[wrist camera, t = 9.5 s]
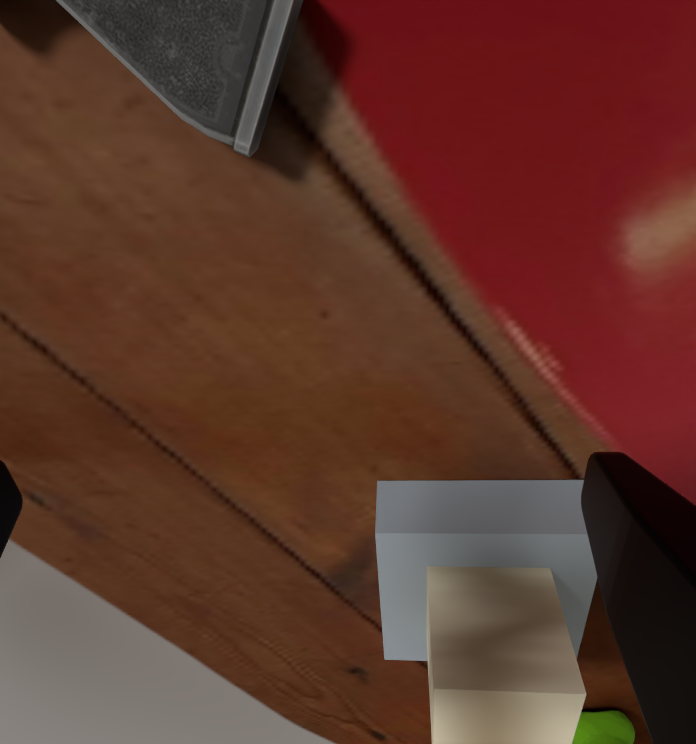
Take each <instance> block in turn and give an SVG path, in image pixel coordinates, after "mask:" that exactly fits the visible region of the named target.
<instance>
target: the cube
mask: <svg viewBox="0 0 696 744" xmlns="http://www.w3.org/2000/svg"><path fill="white" fill-rule="evenodd" d="M427 653H428V673H429V693H430V713H431V733H432V744H572V741H573V738H574V735H575V731H576V728H577V724H578V721H579V718H580V714H581V711H582V707H583V704H584V701H585V697H586V691H585V688H584V684H583V681H582V677H581V674H580V670H579V667H578V663H577V660H576V656H575V653H574V649H573V646H572V642H571V639H570V635H569V632H568V628H567V625H566V621H565V618H564V614H563V611H562V607H561V604H560V600H559V597H558V593H557V590H556V586H555V583H554V579H553V576H552V572H551V569H550V568H513V567H439V566H427Z"/></svg>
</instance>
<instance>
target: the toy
mask: <svg viewBox="0 0 696 744" xmlns="http://www.w3.org/2000/svg"><path fill="white" fill-rule="evenodd" d="M634 739H635V731H634V728H633V725H632V723H631V722H630V720H629V719H628V718H627V717H626V716H625V715H624V714H623V713H621V712H620V711H611V710H610V711H601V712H581V714H580V718H579V721H578V724H577V728H576V731H575V735H574V738H573V741H572V743H573V744H633V743H634Z"/></svg>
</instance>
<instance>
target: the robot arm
mask: <svg viewBox="0 0 696 744" xmlns="http://www.w3.org/2000/svg"><path fill="white" fill-rule="evenodd" d="M581 508H582V513H583V518H584V522H585V526H586V530H587V535H588V539H589V543H590V547H591V552H592V556H593V560H594V564H595V569H596V573H597V577H598V582H599V586H600V590H601V594H602V598H603V602H604V606H605V610H606V613H607V616H608V619H609V622H610V625H611V628H612V631H613V634H614V637H615V639H616V642H617V645H618V648H619V651H620V653H621V656H622V659H623V662H624V664H625V667H626V670H627V673H628V676H629V678H630V681H631V684H632V687H633V690H634V692H635V695H636V698H637V701H638V703H639V706H640V709H641V712H642V715H643V717H644V720H645V723H646V726H647V728H648V731H649V734H650V737H651V740H652V742H653V744H696V505H694V504H693V503H691V502H690V501H689V500H687V499H686V498H685V497H683V496H682V495H681V494H679V493H678V492H676V491H675V490H674V489H672V488H671V487H670V486H668V485H667V484H666V483H664V482H663V481H661V480H660V479H659V478H657V477H656V476H655V475H653V474H652V473H651V472H649V471H648V470H646V469H645V468H644V467H642V466H641V465H640V464H638V463H637V462H635V461H634V460H633V459H631V458H630V457H629V456H627V455H626V454H624V453H621V452H595V453H593V454H591V455H590V457H589V459H588V463H587V468H586V473H585V478H584V483H583V487H582V492H581ZM21 509H22V495H21V493H20V491H19V489H18V487H17V485H16V483H15V481H14V480H13V478H12V476H11V474H10V472H9V470H8V469H7V467H6V465H5V464H4V462H2V461H1V460H0V557H1V555H2V553H3V551H4V548H5V546H6V544H7V542H8V539H9V537H10V535H11V532H12V530H13V528H14V526H15V523H16V521H17V519H18V516H19V514H20V512H21Z"/></svg>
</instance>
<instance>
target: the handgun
mask: <svg viewBox="0 0 696 744" xmlns="http://www.w3.org/2000/svg"><path fill="white" fill-rule="evenodd" d="M56 1H57V2H58V3H59V4H60V5H61V6H62V7H63V8H65V9H66V10H67V11H68V12H69V13H70V14H71V15H72V16H73V17H74V18H75V19H76V20H77V21H78V22H79V23H80V24H81V25H83V26H84V27H85V28H86V29H87V30H88V31H89V32H90V33H91V34H92V35H93V36H94V37H95V38H96V39H97V40H98V41H99V42H101V43H102V44H103V45H104V46H105V47H106V48H107V49H108V50H109V51H110V52H111V53H112V54H113V55H114V56H115V57H116V58H117V59H119V60H120V61H121V62H122V63H123V64H124V65H125V66H126V67H127V68H128V69H129V70H130V71H131V72H132V73H133V74H134V75H135V76H137V77H138V78H139V79H140V80H141V81H142V82H143V83H144V84H145V85H146V86H147V87H148V88H149V89H150V90H151V91H152V92H153V93H155V94H156V95H157V96H158V97H159V98H160V99H161V100H162V101H163V102H164V103H165V104H166V105H167V106H168V107H169V108H170V109H171V110H173V111H174V112H175V113H176V114H177V115H178V116H179V117H180V118H181V119H182V120H183V121H185V122H187V123H188V124H190V125H191V126H193V127H194V128H196V129H198V130H199V131H201V132H202V133H204V134H206V135H207V136H209V137H210V138H213V139H215V140H218V141H220V142H223V143H226V144H228V145H231V146H234V148H233V149H234V151H236V152H238V153H240V154H242V155H245V156H247V157H250V156H251V155H252V154H254V153H255V152H256V151H257V149H258V147H259V144H260V141H261V137H262V134H263V131H264V128H265V124H266V121H267V118H268V114H269V111H270V108H271V105H272V101H273V98H274V95H275V92H276V88H277V85H278V82H279V78H280V75H281V72H282V69H283V65H284V62H285V59H286V55H287V52H288V49H289V46H290V42H291V39H292V36H293V33H294V29H295V26H296V23H297V19H298V16H299V13H300V10H301V6H302V3H303V0H56Z"/></svg>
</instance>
